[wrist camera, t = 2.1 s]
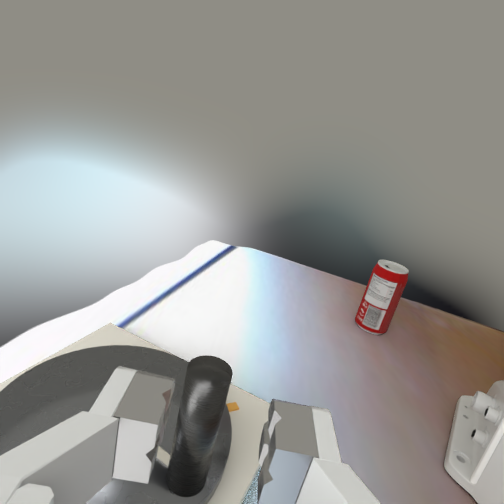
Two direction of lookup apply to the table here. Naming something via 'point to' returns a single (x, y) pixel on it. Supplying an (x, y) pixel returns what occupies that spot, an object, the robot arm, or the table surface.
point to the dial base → (240, 409)
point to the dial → (176, 433)
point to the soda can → (381, 297)
